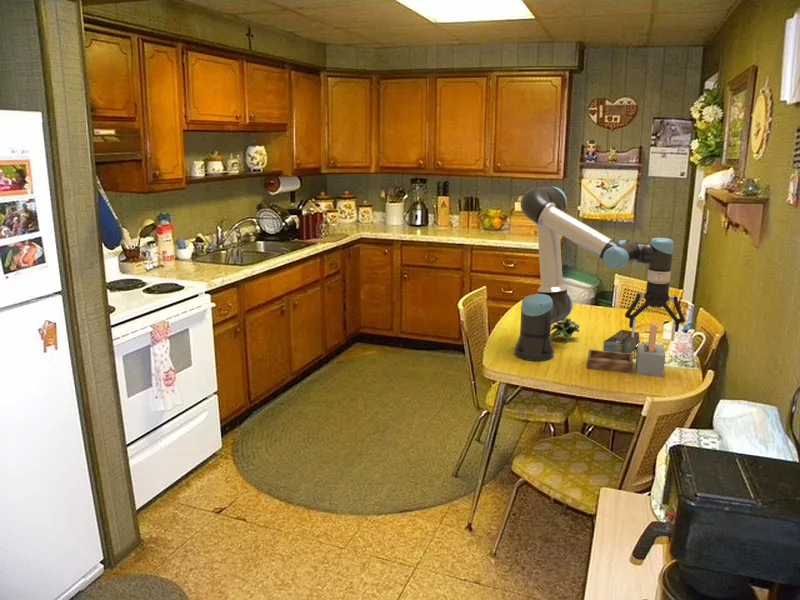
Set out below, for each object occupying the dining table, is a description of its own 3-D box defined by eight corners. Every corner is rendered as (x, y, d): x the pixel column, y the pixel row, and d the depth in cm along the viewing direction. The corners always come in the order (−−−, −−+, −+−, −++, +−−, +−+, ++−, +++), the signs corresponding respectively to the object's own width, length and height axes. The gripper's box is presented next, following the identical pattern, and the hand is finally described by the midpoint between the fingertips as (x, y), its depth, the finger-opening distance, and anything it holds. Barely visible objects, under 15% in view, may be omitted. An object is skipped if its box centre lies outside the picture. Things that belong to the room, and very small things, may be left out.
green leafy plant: (563, 349, 278) (580, 326, 277) (570, 353, 267) (587, 329, 266) (542, 334, 277) (558, 311, 277) (548, 337, 266) (565, 313, 266)
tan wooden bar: (646, 366, 236) (651, 327, 232) (646, 361, 242) (650, 323, 238) (652, 367, 236) (657, 328, 232) (652, 362, 241) (656, 323, 237)
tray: (586, 368, 240) (587, 359, 239) (588, 357, 251) (588, 349, 250) (632, 373, 235) (633, 364, 235) (631, 362, 246) (632, 353, 246)
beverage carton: (601, 354, 256) (602, 338, 254) (620, 343, 270) (621, 328, 268) (621, 359, 251) (622, 342, 249) (639, 347, 265) (640, 331, 264)
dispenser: (636, 373, 235) (638, 351, 233) (635, 362, 246) (637, 341, 244) (663, 376, 232) (665, 354, 230) (661, 365, 243) (663, 343, 241)
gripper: (621, 281, 231) (616, 337, 236) (697, 286, 223) (690, 344, 229) (621, 276, 238) (616, 331, 243) (695, 281, 230) (688, 338, 236)
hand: (652, 338), depth 236 cm, fingers open, 13 cm apart
